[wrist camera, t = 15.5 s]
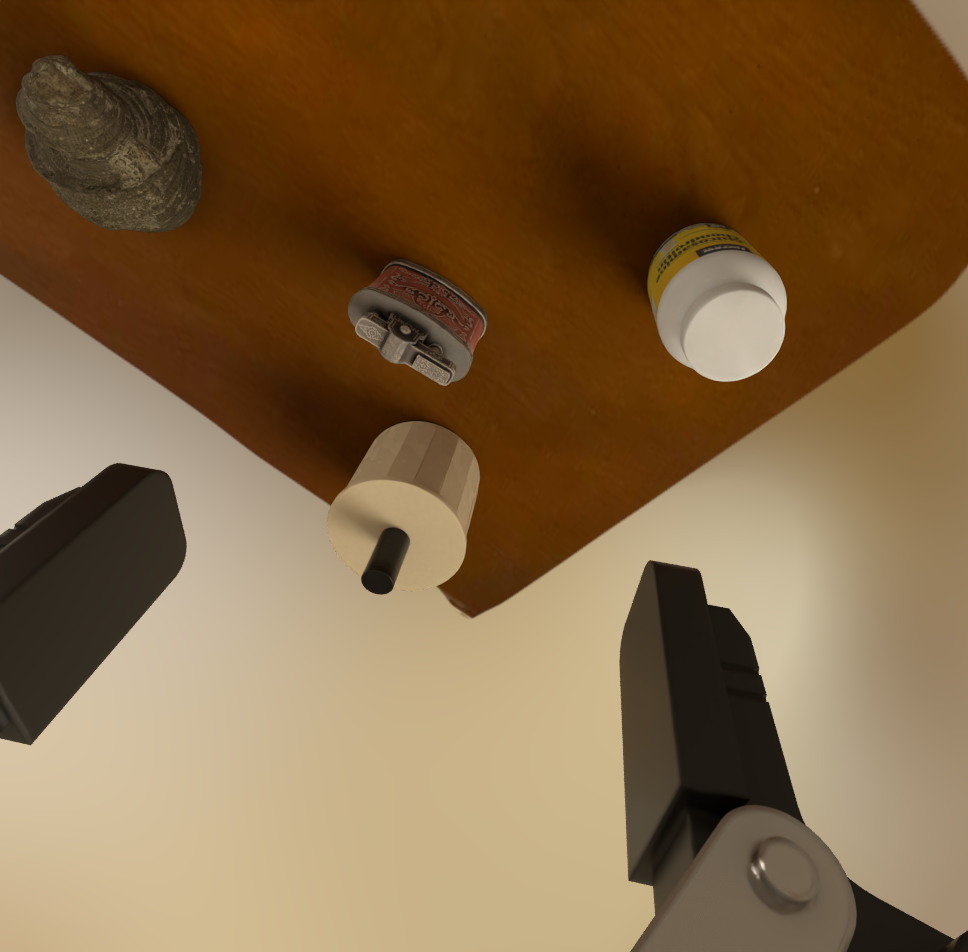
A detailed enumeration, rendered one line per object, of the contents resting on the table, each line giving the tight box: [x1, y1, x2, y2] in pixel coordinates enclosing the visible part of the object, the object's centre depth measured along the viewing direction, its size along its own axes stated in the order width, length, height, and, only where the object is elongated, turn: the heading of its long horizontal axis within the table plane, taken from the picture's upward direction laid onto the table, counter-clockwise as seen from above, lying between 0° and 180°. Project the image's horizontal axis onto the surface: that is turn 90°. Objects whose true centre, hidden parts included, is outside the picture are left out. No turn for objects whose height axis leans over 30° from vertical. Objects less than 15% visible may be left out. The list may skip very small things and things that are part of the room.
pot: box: [348, 421, 480, 536], centre depth 46 cm, size 10×10×8 cm
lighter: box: [348, 259, 488, 385], centre depth 37 cm, size 8×3×10 cm, turn 60°
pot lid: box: [327, 476, 467, 594], centre depth 41 cm, size 10×10×6 cm
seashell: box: [16, 55, 203, 294], centre depth 35 cm, size 11×12×10 cm
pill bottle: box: [647, 223, 787, 381], centre depth 33 cm, size 6×6×12 cm
